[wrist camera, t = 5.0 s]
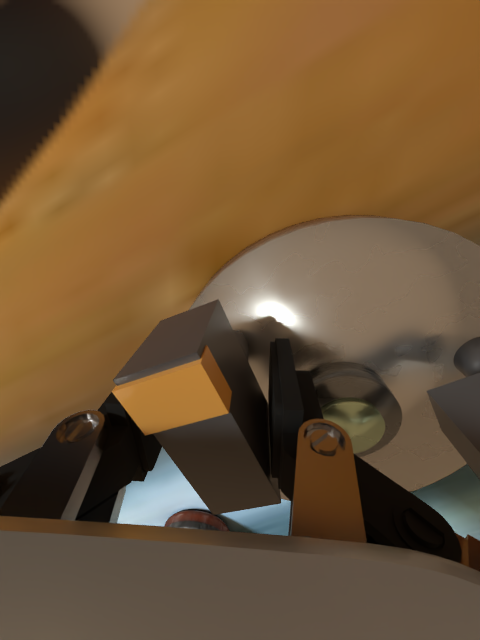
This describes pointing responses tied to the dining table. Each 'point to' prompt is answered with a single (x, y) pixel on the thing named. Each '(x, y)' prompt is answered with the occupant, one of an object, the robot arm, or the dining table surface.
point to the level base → (363, 327)
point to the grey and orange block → (203, 407)
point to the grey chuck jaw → (462, 405)
